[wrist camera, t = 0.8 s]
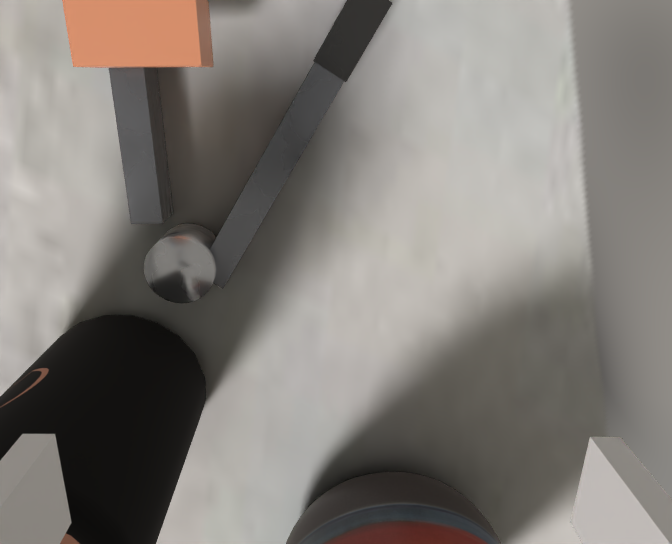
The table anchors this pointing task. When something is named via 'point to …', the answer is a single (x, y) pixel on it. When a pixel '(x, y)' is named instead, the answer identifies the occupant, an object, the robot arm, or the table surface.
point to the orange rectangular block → (139, 33)
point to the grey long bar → (263, 168)
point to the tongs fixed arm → (142, 143)
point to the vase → (392, 514)
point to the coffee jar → (112, 422)
